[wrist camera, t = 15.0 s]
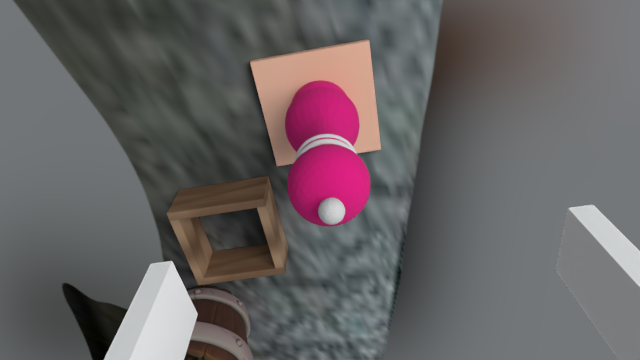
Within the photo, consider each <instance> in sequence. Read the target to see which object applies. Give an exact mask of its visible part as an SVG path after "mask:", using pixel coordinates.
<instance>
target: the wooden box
mask: <svg viewBox="0 0 640 360" xmlns="http://www.w3.org/2000/svg"><path fill="white" fill-rule="evenodd" d="M252 208H257V210H258V213H259V216H260V219H261V223H262V226H263V229H264V232H265V236H266V239H267V242H268V244H261V245H255V246H248V247H241V248H234V249H227V250H220V251H212V248H211V246H210V243H209V241H208V238H207V236H206V234H205V231H204V229H203V226H202V224H201V221H200V219H199V217H200V216H206V215H213V214H219V213H226V212H232V211H239V210H245V209H252ZM167 216H168V218H169V221H170V223H171V225H172V227H173V229H174V232H175V234H176V236H177V238H178V241H179V243H180V245H181V247H182V249H183V252H184V254H185V256H186V258H187V261H188V263H189V265H190V267H191V270H192V272H193V274H194V276H195V278H196V281H197V283H198V285H205V284H212V283H220V282H227V281H234V280H241V279H248V278H255V277H263V276H270V275H277V274H284V273H285V272H286V261H287V250H288V246H287V242H286V238H285V235H284V231H283V228H282V224H281V220H280V217H279V213H278V210H277V206H276V202H275V199H274V195H273V192H272V188H271V184H270V181H269V177H268V176H264V177H258V178H252V179H245V180H239V181H233V182H227V183H220V184H214V185H208V186H201V187H195V188H189V189H183V190H179V192H178V194H177V196H176V197H175V199H174V201H173V203H172V205H171V207H170V208H169V210H168V212H167Z"/></svg>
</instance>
